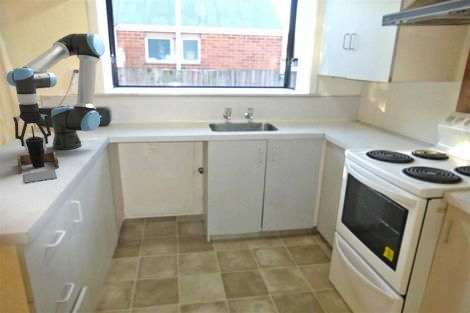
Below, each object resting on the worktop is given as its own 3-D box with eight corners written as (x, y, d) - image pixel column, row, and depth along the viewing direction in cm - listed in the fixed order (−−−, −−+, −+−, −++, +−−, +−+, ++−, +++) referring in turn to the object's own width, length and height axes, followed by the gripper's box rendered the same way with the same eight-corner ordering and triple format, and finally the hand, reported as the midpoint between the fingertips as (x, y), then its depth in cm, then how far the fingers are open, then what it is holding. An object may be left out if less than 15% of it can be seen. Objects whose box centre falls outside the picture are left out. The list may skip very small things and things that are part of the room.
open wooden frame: (56, 159, 167) (54, 151, 166) (58, 168, 155) (57, 159, 154) (19, 164, 159) (17, 155, 158) (19, 173, 147) (17, 164, 145)
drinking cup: (51, 164, 160) (44, 124, 155) (42, 169, 153) (35, 127, 147) (35, 164, 160) (28, 124, 154) (26, 169, 153) (18, 127, 147)
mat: (54, 170, 152) (54, 169, 151) (57, 178, 142) (57, 177, 142) (24, 174, 145) (24, 173, 145) (24, 183, 136) (24, 182, 136)
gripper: (52, 101, 156) (59, 147, 163) (2, 103, 146) (11, 152, 152) (53, 102, 150) (60, 150, 157) (1, 105, 140) (11, 156, 146)
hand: (36, 151), depth 154 cm, fingers closed on drinking cup, 7 cm apart
